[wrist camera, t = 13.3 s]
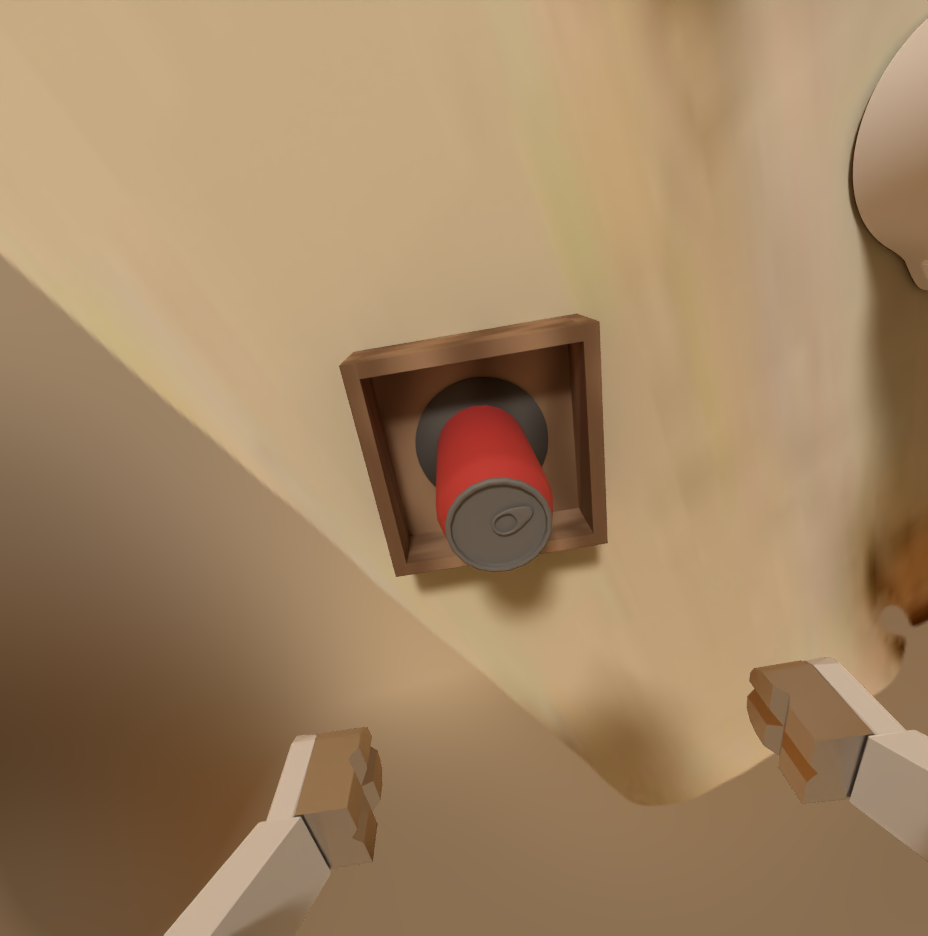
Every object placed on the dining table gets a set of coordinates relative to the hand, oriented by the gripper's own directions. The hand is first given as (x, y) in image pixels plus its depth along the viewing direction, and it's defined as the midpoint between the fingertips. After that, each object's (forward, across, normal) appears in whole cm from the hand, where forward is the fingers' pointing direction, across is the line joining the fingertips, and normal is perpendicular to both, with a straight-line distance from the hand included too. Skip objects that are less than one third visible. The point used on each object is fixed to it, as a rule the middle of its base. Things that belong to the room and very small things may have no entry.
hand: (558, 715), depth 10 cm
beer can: (+26, +1, +4) cm, 26 cm away
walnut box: (+27, 0, +4) cm, 27 cm away
